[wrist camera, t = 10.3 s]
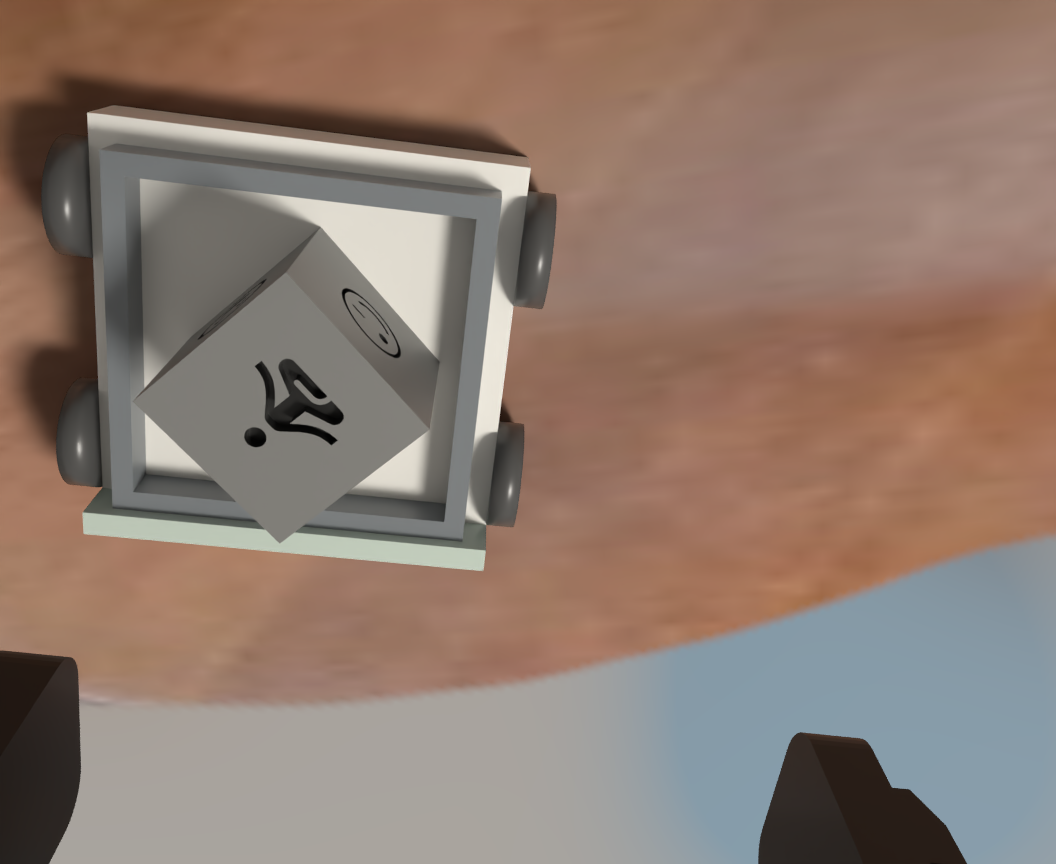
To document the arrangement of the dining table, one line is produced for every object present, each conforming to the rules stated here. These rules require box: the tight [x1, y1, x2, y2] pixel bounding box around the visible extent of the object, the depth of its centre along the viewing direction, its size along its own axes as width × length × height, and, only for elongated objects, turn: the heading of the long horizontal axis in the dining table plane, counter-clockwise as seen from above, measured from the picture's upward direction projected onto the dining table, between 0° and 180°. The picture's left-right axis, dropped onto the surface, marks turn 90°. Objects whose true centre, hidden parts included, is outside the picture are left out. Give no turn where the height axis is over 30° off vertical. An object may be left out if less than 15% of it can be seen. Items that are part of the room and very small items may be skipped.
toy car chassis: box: [41, 105, 556, 571], centre depth 29 cm, size 12×13×4 cm
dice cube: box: [133, 227, 440, 543], centre depth 27 cm, size 5×5×5 cm
